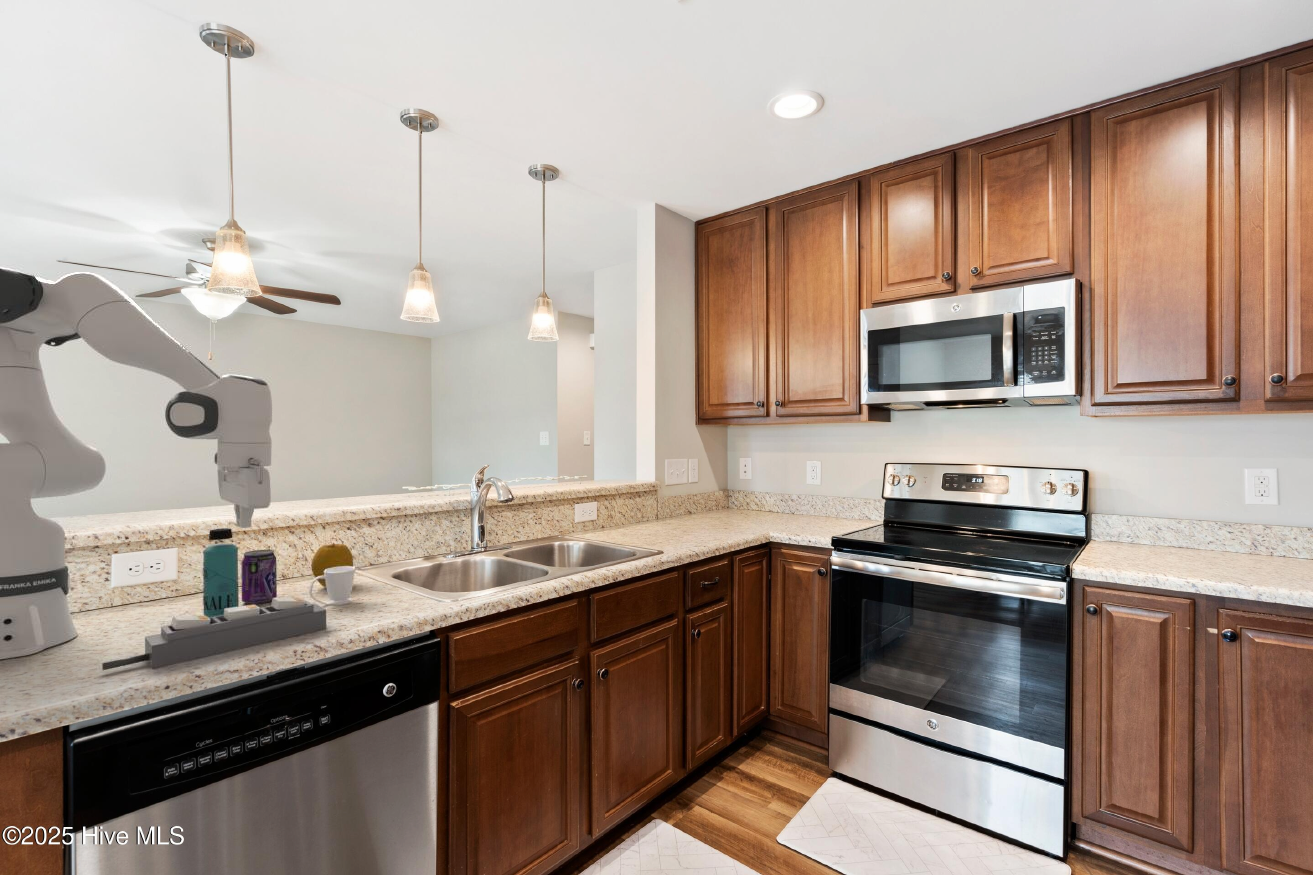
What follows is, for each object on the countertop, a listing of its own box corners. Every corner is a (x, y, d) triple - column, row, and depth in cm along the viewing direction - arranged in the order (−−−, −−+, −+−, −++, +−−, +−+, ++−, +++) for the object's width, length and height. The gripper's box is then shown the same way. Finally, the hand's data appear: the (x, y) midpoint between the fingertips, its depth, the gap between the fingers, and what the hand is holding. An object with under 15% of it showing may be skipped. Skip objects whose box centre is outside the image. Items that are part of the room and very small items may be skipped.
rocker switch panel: (105, 679, 100) (104, 646, 100) (100, 668, 104) (99, 637, 104) (326, 628, 125) (326, 602, 125) (314, 621, 130) (313, 596, 130)
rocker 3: (276, 609, 120) (278, 600, 120) (270, 605, 122) (272, 597, 122) (303, 609, 123) (305, 600, 124) (297, 605, 126) (299, 597, 126)
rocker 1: (174, 629, 108) (177, 619, 108) (170, 624, 110) (173, 615, 110) (208, 628, 111) (210, 618, 112) (203, 624, 114) (205, 614, 114)
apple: (309, 593, 153) (309, 547, 152) (313, 584, 161) (313, 541, 161) (352, 589, 157) (352, 544, 157) (354, 580, 165) (353, 538, 165)
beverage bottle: (228, 614, 135) (227, 525, 135) (246, 618, 132) (245, 527, 132) (196, 622, 129) (194, 529, 129) (213, 626, 127) (212, 531, 126)
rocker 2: (228, 620, 114) (229, 611, 114) (223, 616, 116) (224, 607, 116) (259, 616, 117) (259, 607, 117) (253, 612, 120) (254, 603, 120)
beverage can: (259, 606, 142) (258, 555, 141) (234, 604, 143) (233, 554, 143) (283, 598, 148) (283, 549, 148) (259, 596, 150) (259, 548, 150)
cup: (360, 602, 144) (360, 568, 144) (314, 611, 137) (314, 576, 137) (350, 596, 149) (350, 564, 149) (305, 605, 142) (305, 571, 142)
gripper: (280, 459, 114) (279, 532, 115) (248, 454, 128) (246, 519, 128) (241, 460, 110) (240, 535, 110) (211, 454, 123) (210, 522, 123)
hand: (243, 526), depth 119 cm, fingers closed
